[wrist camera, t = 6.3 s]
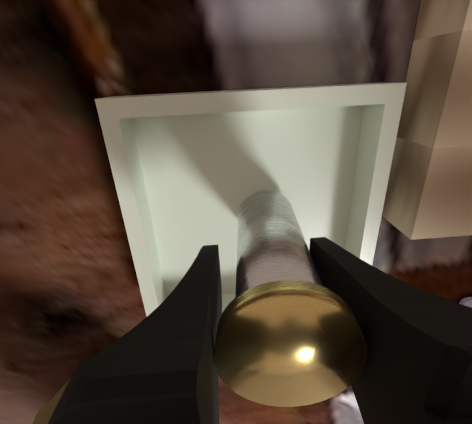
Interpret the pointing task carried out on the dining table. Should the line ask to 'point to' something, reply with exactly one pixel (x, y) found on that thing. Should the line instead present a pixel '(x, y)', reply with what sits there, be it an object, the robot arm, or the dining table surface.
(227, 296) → the tray
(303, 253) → the pin
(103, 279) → the dining table surface
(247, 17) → the dining table surface
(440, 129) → the hitch block
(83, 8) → the dining table surface
